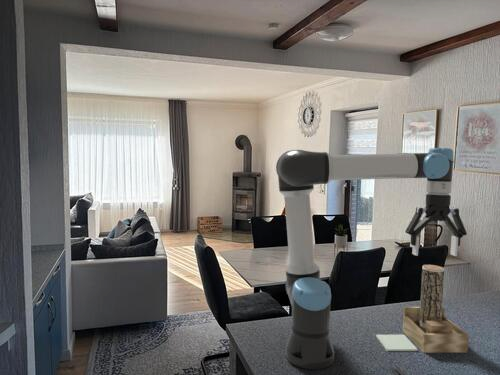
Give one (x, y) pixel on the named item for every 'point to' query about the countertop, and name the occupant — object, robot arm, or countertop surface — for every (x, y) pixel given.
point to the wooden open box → (433, 334)
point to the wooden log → (431, 294)
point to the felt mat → (396, 343)
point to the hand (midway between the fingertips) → (434, 255)
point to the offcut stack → (439, 327)
